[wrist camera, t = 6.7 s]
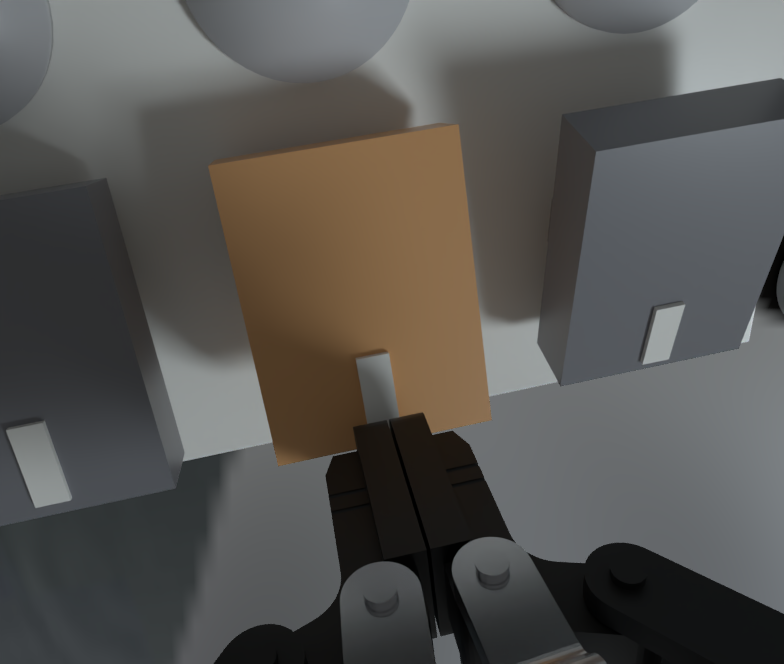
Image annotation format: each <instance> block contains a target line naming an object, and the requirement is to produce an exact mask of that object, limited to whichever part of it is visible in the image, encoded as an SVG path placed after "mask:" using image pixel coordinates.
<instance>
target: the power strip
mask: <svg viewBox="0 0 784 664" xmlns="http://www.w3.org/2000/svg"><path fill="white" fill-rule="evenodd" d="M777 78H782V79H783V80H784V0H0V195H5V194H11V193H17V192H23V191H29V190H35V189H41V188H47V187H53V186H59V185H65V184H71V183H77V182H83V181H90V180H96V179H102V178H107V182H108V186H109V189H110V193H111V196H112V200H113V203H114V207H115V210H116V214H117V217H118V221H119V224H120V228H121V231H122V235H123V238H124V242H125V245H126V249H127V252H128V256H129V259H130V263H131V266H132V270H133V273H134V277H135V280H136V284H137V287H138V291H139V294H140V298H141V301H142V305H143V308H144V312H145V315H146V319H147V322H148V326H149V329H150V333H151V336H152V340H153V343H154V347H155V350H156V354H157V357H158V361H159V364H160V368H161V371H162V375H163V378H164V382H165V385H166V389H167V392H168V396H169V399H170V403H171V406H172V410H173V413H174V417H175V420H176V424H177V427H178V431H179V434H180V438H181V442H182V445H183V449H184V452H185V453H184V457H183V461H187V460H191V459H196V458H201V457H206V456H210V455H215V454H220V453H225V452H229V451H234V450H239V449H243V448H248V447H253V446H258V445H262V444H267V443H271V442H273V441H272V437H271V433H270V428H269V424H268V420H267V416H266V411H265V407H264V403H263V399H262V394H261V390H260V386H259V382H258V377H257V373H256V369H255V364H254V360H253V356H252V352H251V347H250V343H249V339H248V335H247V330H246V326H245V322H244V318H243V313H242V309H241V305H240V301H239V296H238V292H237V288H236V283H235V279H234V275H233V271H232V266H231V262H230V258H229V254H228V249H227V245H226V241H225V237H224V232H223V228H222V224H221V220H220V215H219V211H218V207H217V202H216V198H215V194H214V190H213V185H212V181H211V177H210V173H209V168H208V165H209V164H211V163H212V162H213V161H214V160H217V159H223V158H229V157H235V156H241V155H247V154H253V153H259V152H265V151H271V150H278V149H284V148H290V147H296V146H302V145H308V144H314V143H320V142H326V141H332V140H338V139H344V138H350V137H356V136H362V135H369V134H375V133H381V132H387V131H393V130H399V129H405V128H411V127H417V126H423V125H429V124H435V123H449V124H459V132H460V141H461V150H462V159H463V168H464V177H465V186H466V195H467V204H468V213H469V221H470V230H471V239H472V248H473V257H474V266H475V275H476V284H477V293H478V302H479V311H480V320H481V329H482V338H483V347H484V356H485V365H486V374H487V383H488V392H489V396H494V395H498V394H503V393H508V392H512V391H517V390H522V389H527V388H532V387H536V386H541V385H546V384H550V383H555V382H558V381H557V379H556V377H555V375H554V373H553V372H552V370H551V368H550V366H549V364H548V362H547V361H546V359H545V357H544V355H543V353H542V351H541V349H540V348H539V346H538V344H537V338H538V329H539V320H540V311H541V302H542V293H543V283H544V274H545V265H546V256H547V247H548V241H547V239H548V229H549V220H550V211H551V202H552V199H553V192H554V183H555V174H556V165H557V155H558V146H559V137H560V128H561V119H562V114H567V113H573V112H579V111H585V110H591V109H597V108H603V107H609V106H615V105H621V104H627V103H633V102H639V101H645V100H651V99H657V98H663V97H669V96H675V95H681V94H687V93H693V92H699V91H705V90H711V89H717V88H723V87H729V86H735V85H741V84H747V83H753V82H759V81H765V80H771V79H777ZM755 307H756V306H755ZM754 312H755V309H754V311H753V314H752V316H751V319H750V321H749V324H748V326H747V329H746V331H745V334H744V336H743V339H742V341H741V343H744V342H749V338H750V333H751V328H752V323H753V317H754Z"/></svg>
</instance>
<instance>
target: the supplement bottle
mask: <svg viewBox="0 0 784 664" xmlns="http://www.w3.org/2000/svg"><path fill="white" fill-rule="evenodd" d="M776 292H777V300H778V304H779V307H780V309H781V311H782V313H783V314H784V261H783V263H782V266H781V268H780V272H779V276H778V280H777V290H776Z"/></svg>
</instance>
